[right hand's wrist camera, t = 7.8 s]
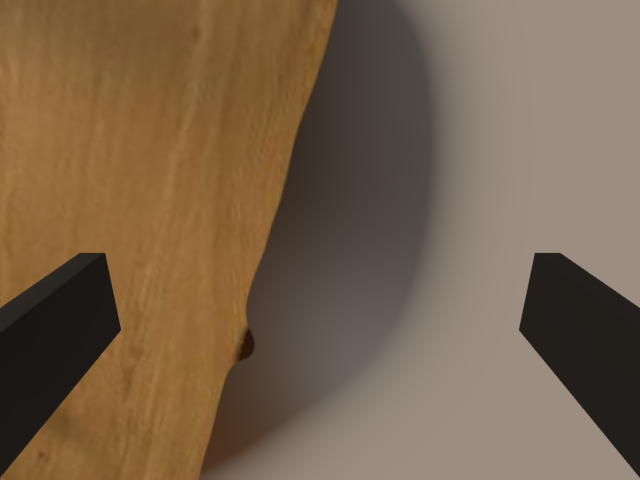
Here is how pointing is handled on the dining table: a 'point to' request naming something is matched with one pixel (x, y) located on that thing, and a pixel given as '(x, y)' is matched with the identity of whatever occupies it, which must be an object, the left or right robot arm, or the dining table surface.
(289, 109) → the dining table surface
